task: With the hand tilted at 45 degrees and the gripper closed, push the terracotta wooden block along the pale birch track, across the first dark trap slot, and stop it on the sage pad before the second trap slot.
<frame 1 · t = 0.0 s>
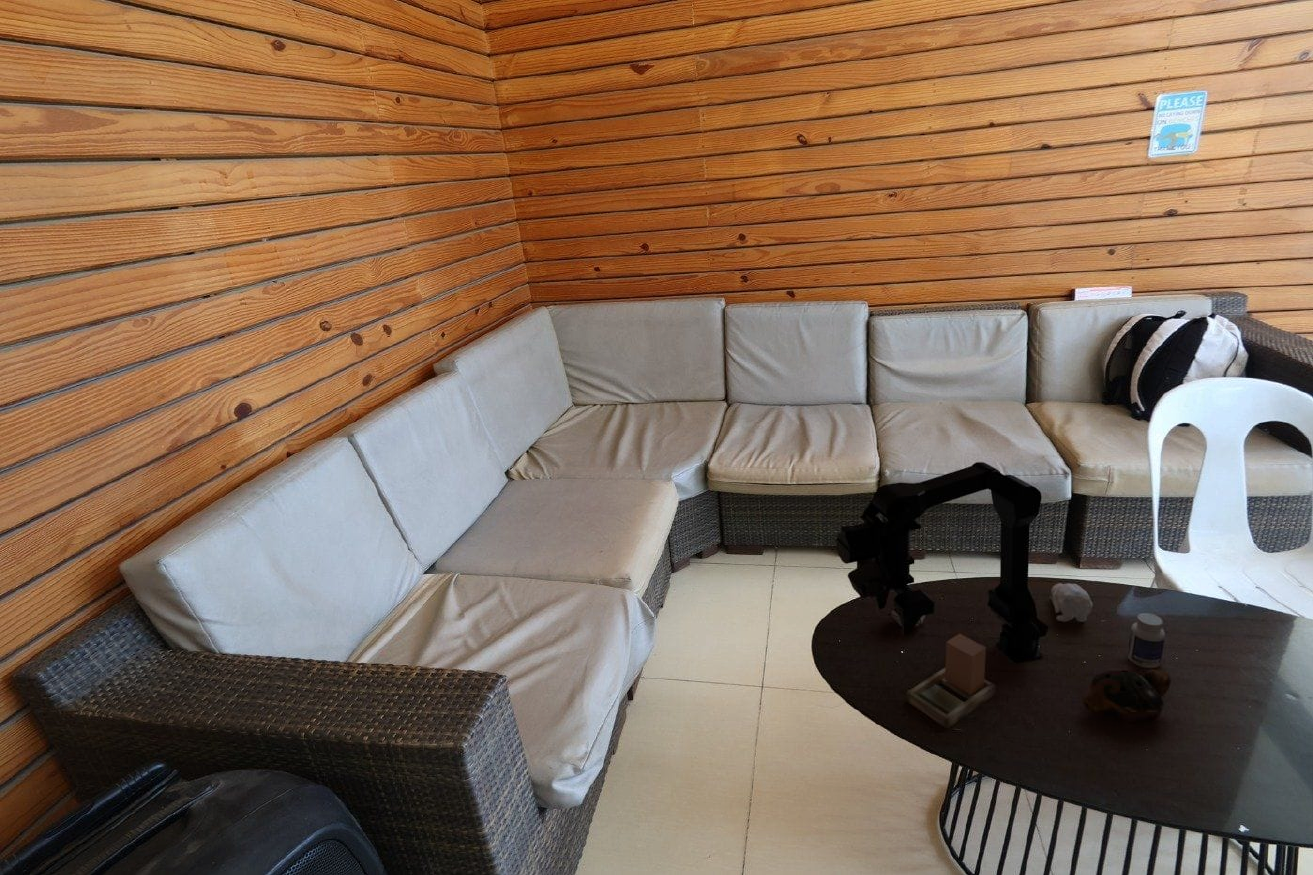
hand: (893, 621, 131), 15 cm above the table, tool pointing down, fingers open, 9 cm apart
decorative turtle: (1124, 712, 122), on the table
terracotta block: (965, 663, 130), point 6 cm above the table, slide at 0.0 cm
white bear figurine: (1066, 613, 150), on the table
pill bottle: (1143, 660, 134), on the table
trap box: (950, 697, 130), on the table
game die: (909, 627, 152), on the table
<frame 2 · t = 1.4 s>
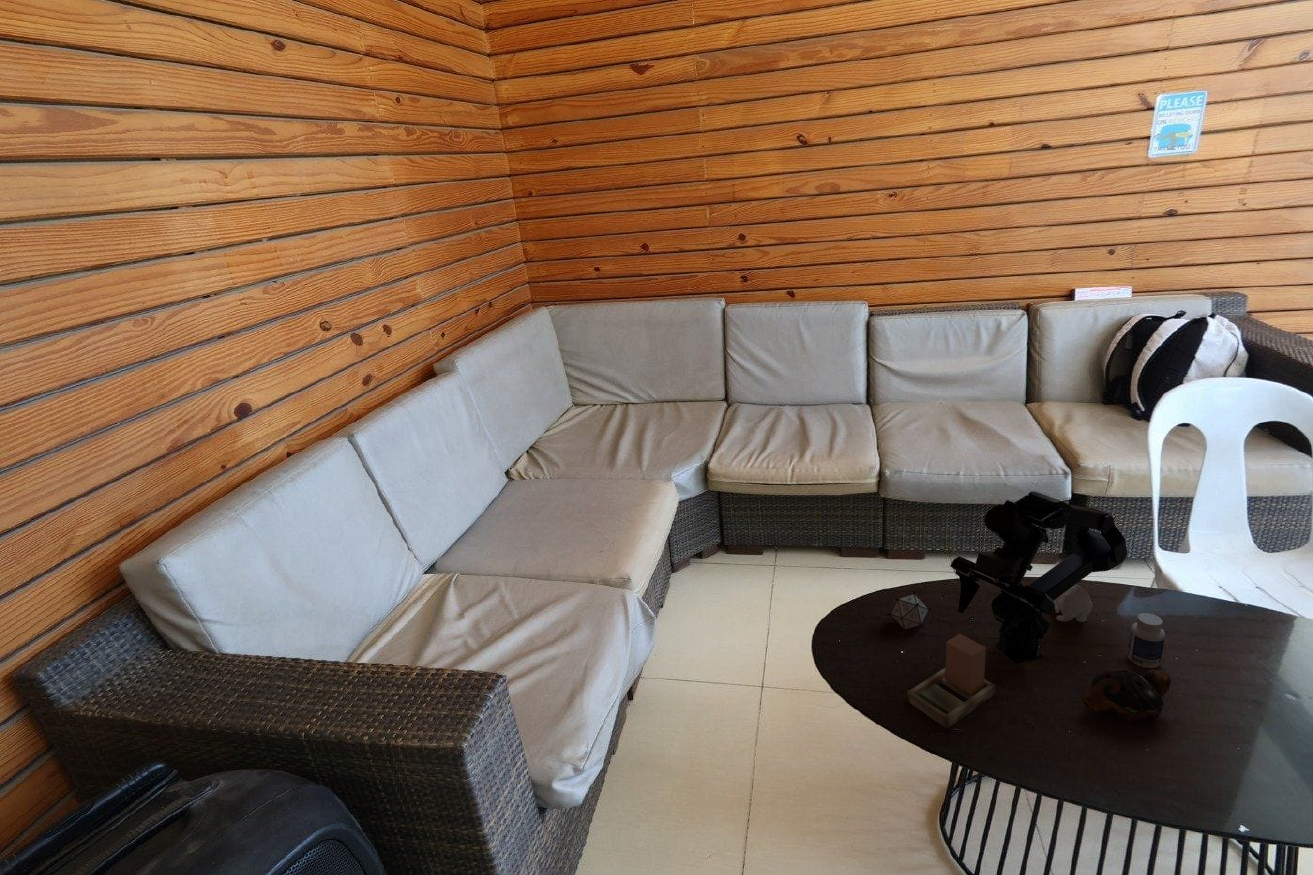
hand: (979, 622, 129), 13 cm above the table, tool tilted 45°, fingers open, 8 cm apart
nothing on the table moved.
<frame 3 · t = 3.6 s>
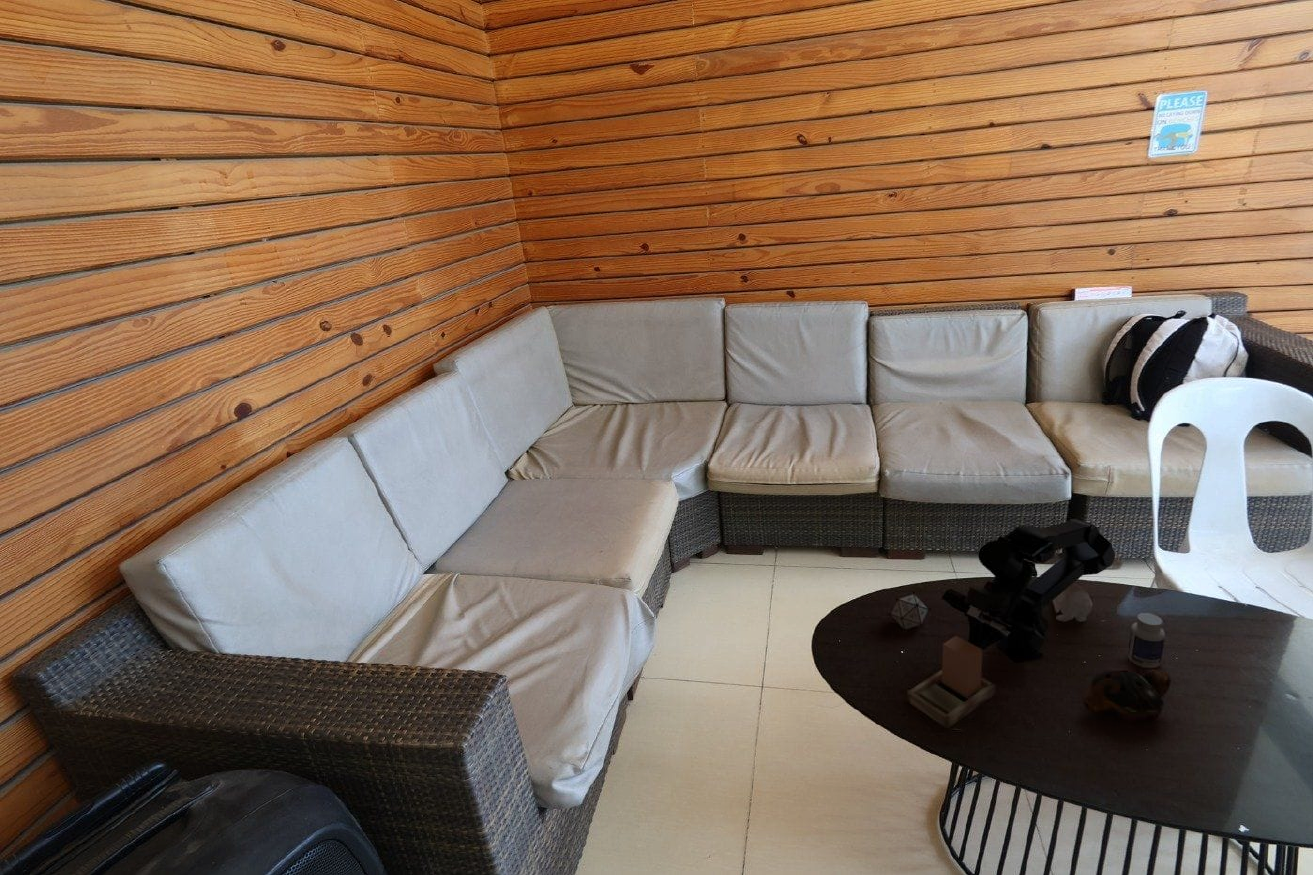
hand: (969, 656, 130), 7 cm above the table, tool tilted 45°, fingers closed, pressing on terracotta block
terracotta block: (961, 666, 129), point 6 cm above the table, slide at 1.0 cm, touching gripper
everything else where it was.
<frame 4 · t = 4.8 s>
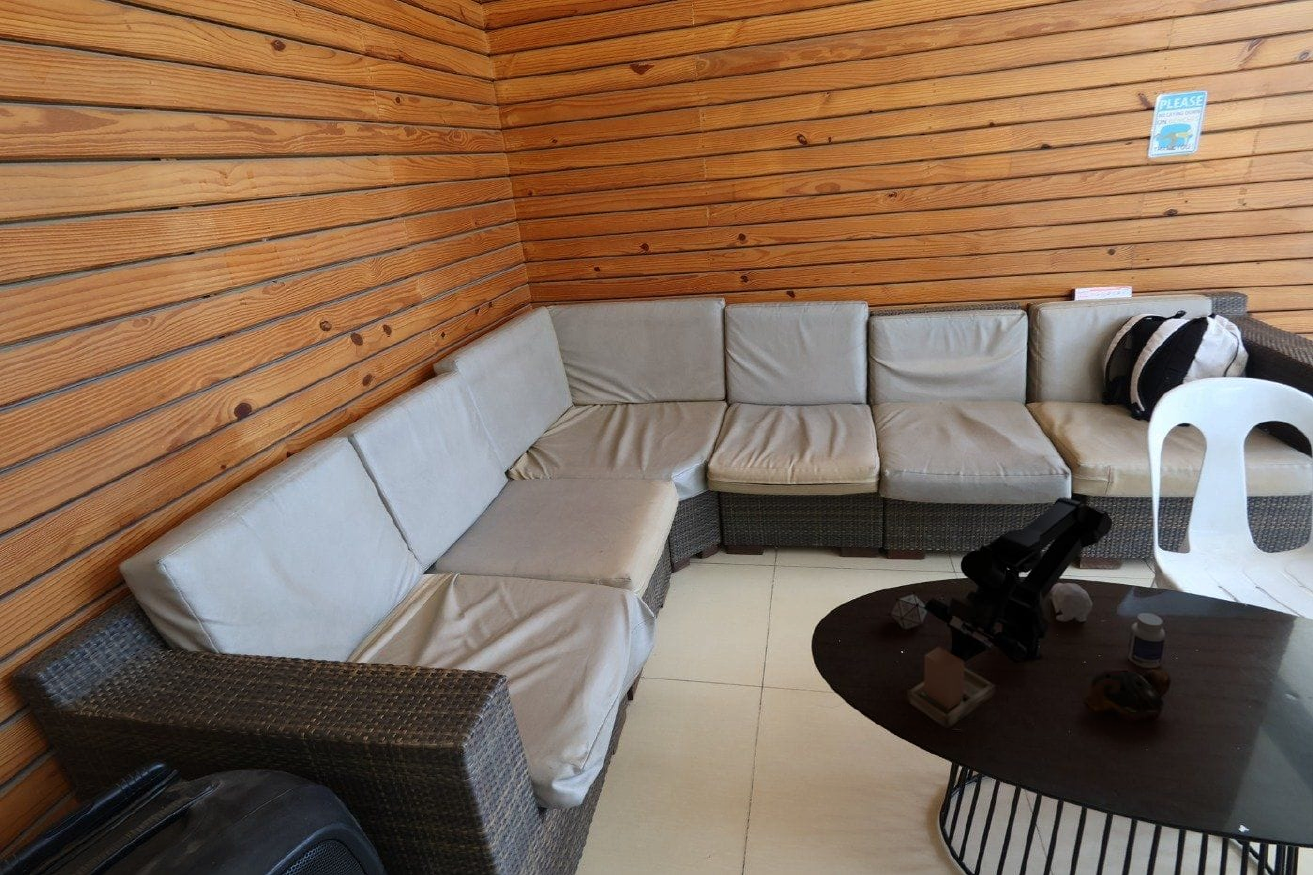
hand: (951, 667, 128), 7 cm above the table, tool tilted 45°, fingers closed, pressing on terracotta block
terracotta block: (943, 677, 127), point 6 cm above the table, slide at 6.2 cm, touching gripper
everything else where it was.
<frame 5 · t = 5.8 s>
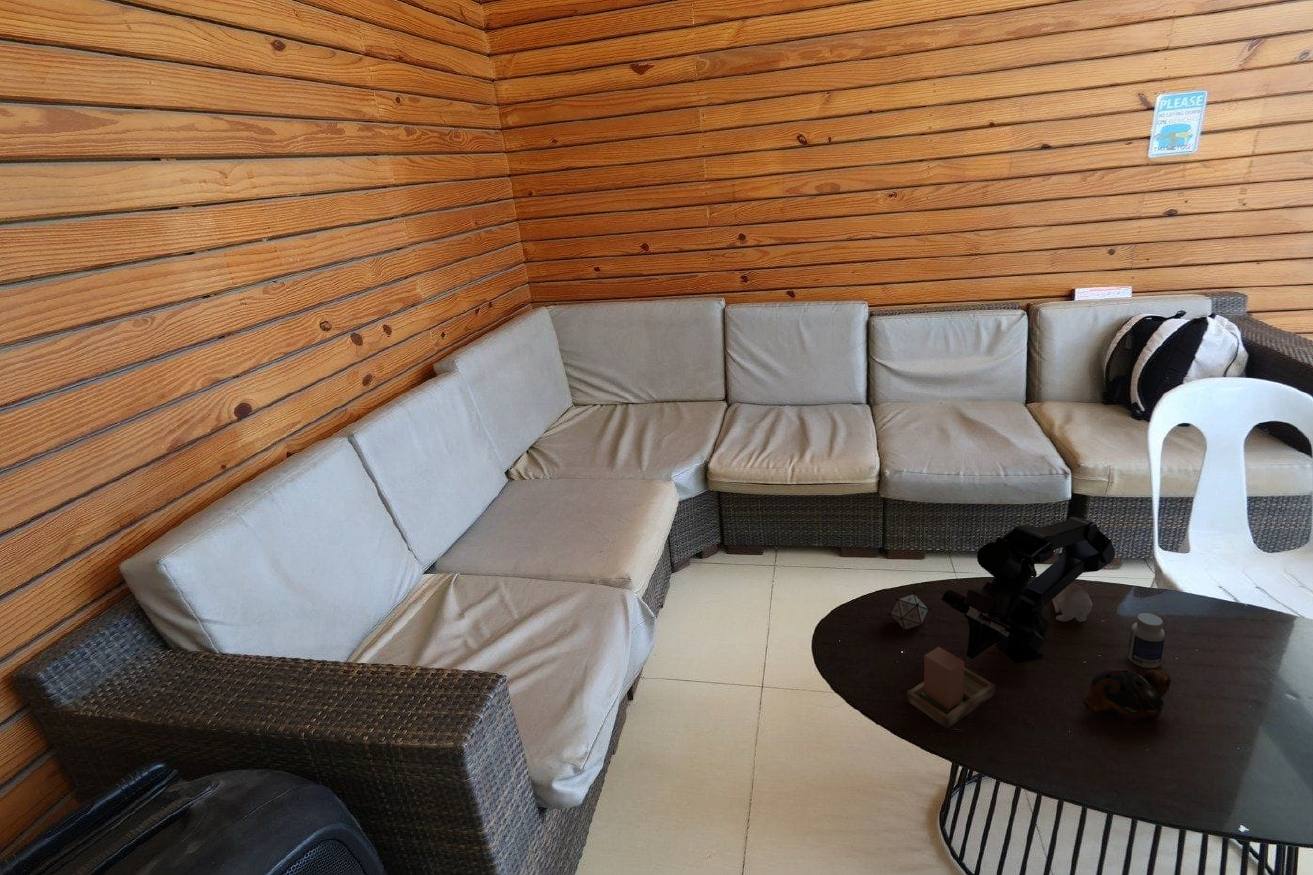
hand: (969, 657, 130), 7 cm above the table, tool tilted 45°, fingers closed
terracotta block: (943, 677, 127), point 6 cm above the table, slide at 6.3 cm
everything else where it was.
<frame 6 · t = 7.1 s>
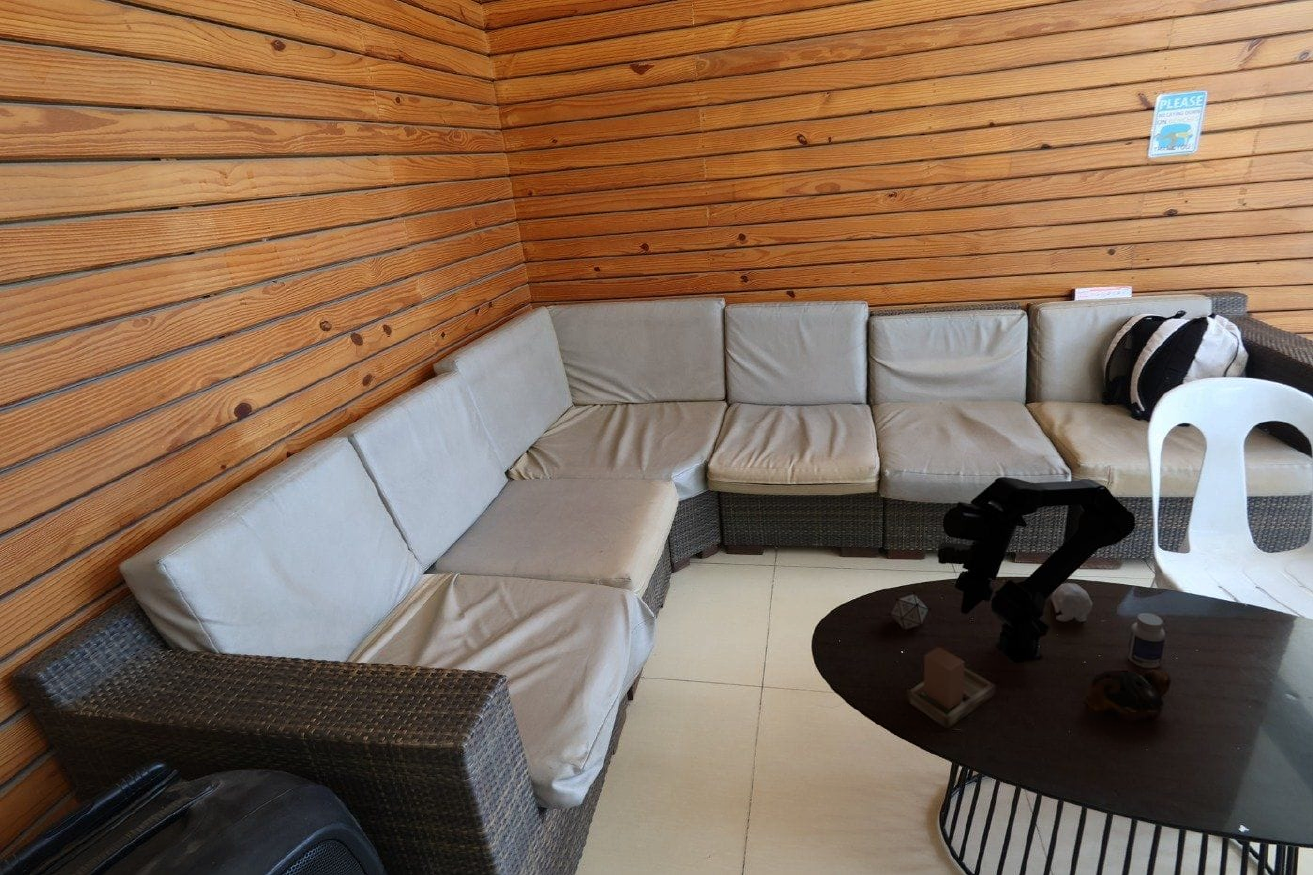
hand: (963, 612, 133), 13 cm above the table, tool tilted 20°, fingers closed
nothing on the table moved.
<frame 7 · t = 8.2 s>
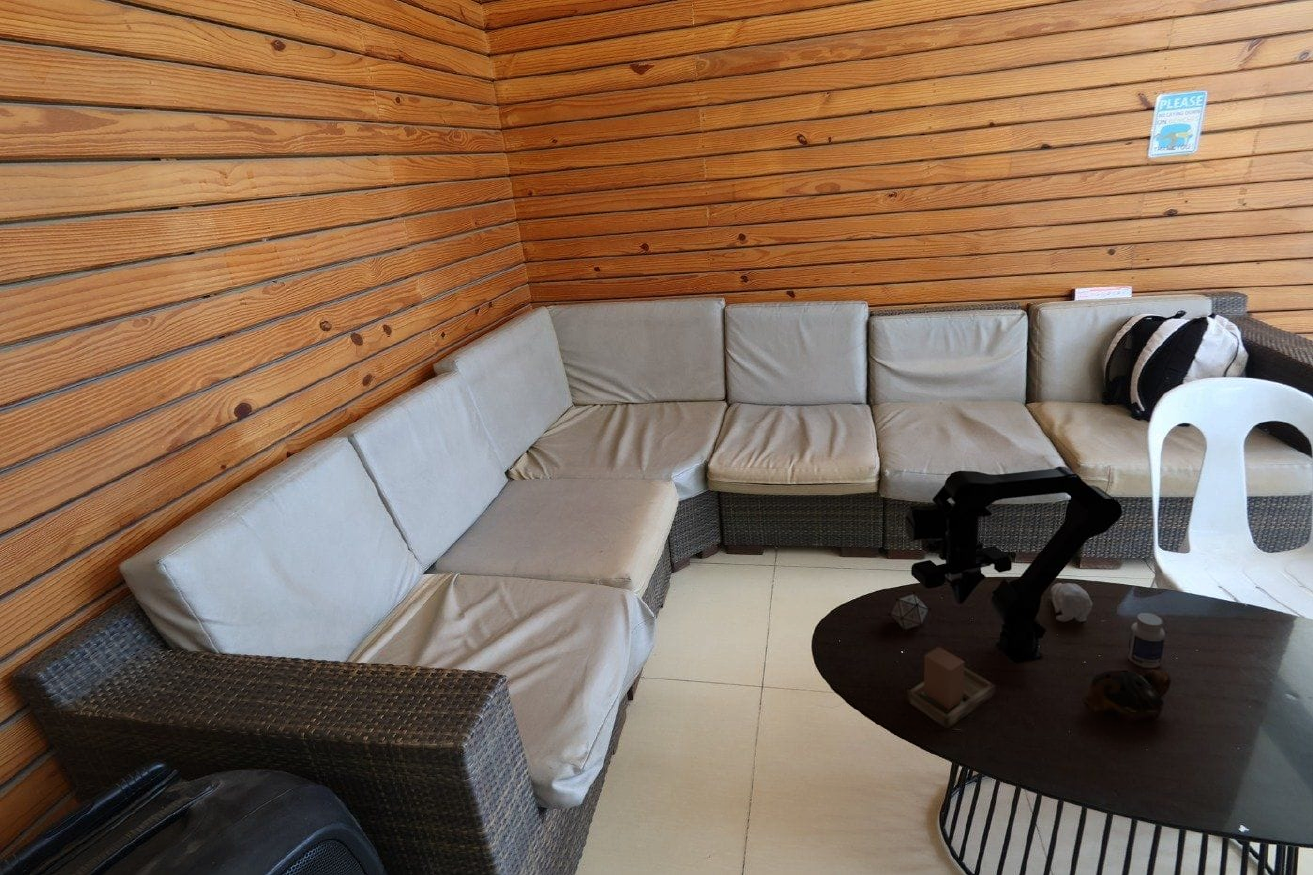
hand: (959, 602, 137), 13 cm above the table, tool pointing down, fingers closed
nothing on the table moved.
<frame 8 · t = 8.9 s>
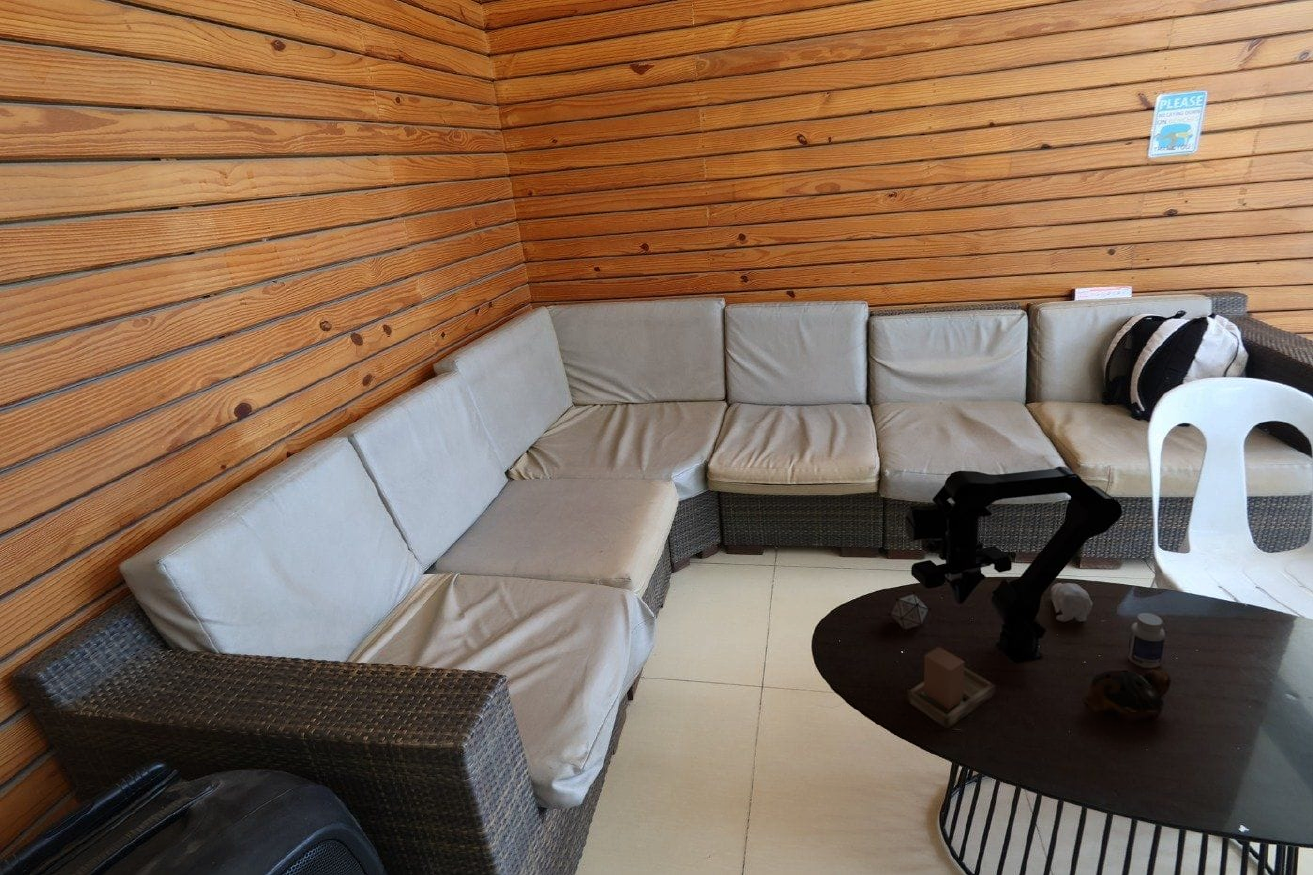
hand: (959, 602, 137), 13 cm above the table, tool pointing down, fingers closed
nothing on the table moved.
at the end: terracotta block slide at 6.3 cm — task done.
